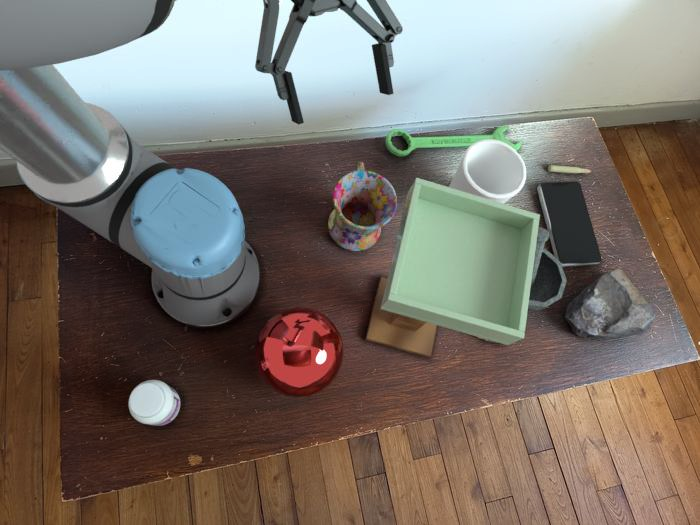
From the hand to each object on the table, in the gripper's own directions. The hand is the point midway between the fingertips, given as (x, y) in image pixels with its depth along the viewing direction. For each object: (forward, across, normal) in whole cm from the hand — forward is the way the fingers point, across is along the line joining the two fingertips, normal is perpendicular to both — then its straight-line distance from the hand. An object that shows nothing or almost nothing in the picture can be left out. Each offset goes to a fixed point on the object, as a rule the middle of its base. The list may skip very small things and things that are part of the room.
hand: (343, 107), depth 73 cm
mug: (+19, 0, -5) cm, 20 cm away
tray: (+14, 0, +25) cm, 29 cm away
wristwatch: (+37, -11, +13) cm, 41 cm away
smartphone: (+29, -34, +6) cm, 45 cm away
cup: (+22, -18, -1) cm, 29 cm away
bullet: (+22, -36, -1) cm, 42 cm away
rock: (+43, -30, +18) cm, 55 cm away
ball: (+31, +18, +7) cm, 36 cm away
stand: (+31, 0, +8) cm, 32 cm away
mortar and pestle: (+33, -19, +10) cm, 40 cm away
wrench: (+12, -23, -10) cm, 28 cm away
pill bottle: (+29, +37, +6) cm, 48 cm away
